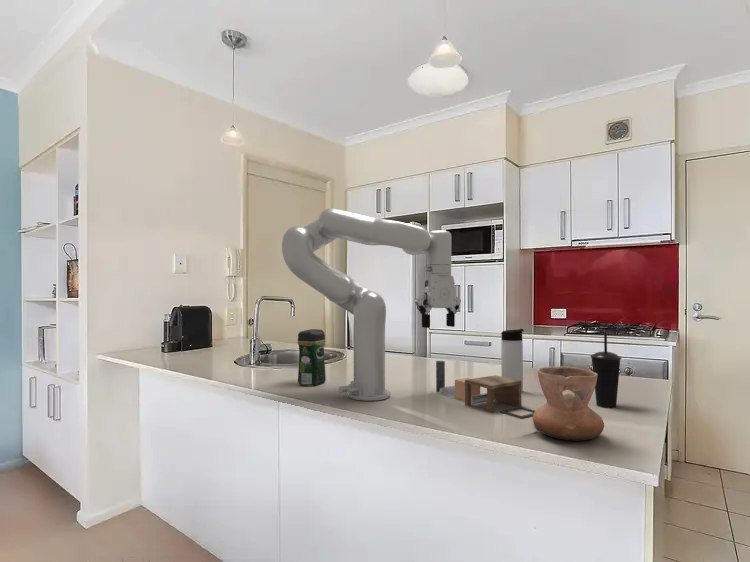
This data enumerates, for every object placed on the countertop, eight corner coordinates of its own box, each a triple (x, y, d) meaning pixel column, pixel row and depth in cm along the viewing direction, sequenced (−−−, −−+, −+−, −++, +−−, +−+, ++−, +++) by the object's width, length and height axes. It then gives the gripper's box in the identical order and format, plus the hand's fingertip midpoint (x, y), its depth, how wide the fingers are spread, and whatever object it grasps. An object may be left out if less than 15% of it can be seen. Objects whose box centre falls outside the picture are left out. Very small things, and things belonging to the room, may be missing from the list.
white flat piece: (471, 407, 121) (471, 370, 121) (429, 394, 136) (429, 361, 136) (489, 404, 125) (489, 368, 125) (446, 392, 140) (445, 359, 140)
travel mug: (525, 397, 134) (524, 330, 134) (502, 396, 135) (501, 329, 135) (522, 392, 140) (522, 328, 140) (500, 391, 141) (500, 327, 141)
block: (467, 401, 124) (467, 382, 124) (454, 397, 128) (454, 379, 128) (480, 398, 126) (480, 380, 126) (467, 395, 131) (467, 377, 131)
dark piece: (521, 424, 107) (521, 417, 107) (499, 418, 112) (499, 410, 112) (541, 419, 111) (541, 412, 111) (520, 413, 116) (520, 406, 116)
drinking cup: (619, 403, 126) (618, 332, 127) (624, 410, 119) (623, 334, 120) (589, 401, 129) (588, 331, 129) (592, 407, 122) (592, 333, 122)
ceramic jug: (608, 452, 89) (608, 380, 89) (531, 443, 94) (530, 375, 94) (599, 426, 105) (598, 365, 106) (534, 420, 111) (533, 362, 111)
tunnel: (490, 418, 112) (490, 386, 112) (465, 410, 120) (464, 379, 120) (521, 411, 118) (521, 380, 119) (495, 403, 126) (495, 375, 126)
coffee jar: (310, 380, 159) (310, 327, 160) (329, 382, 156) (329, 328, 156) (293, 385, 151) (293, 330, 151) (313, 387, 147) (313, 331, 148)
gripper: (424, 269, 130) (423, 329, 130) (468, 271, 139) (467, 326, 139) (408, 270, 137) (408, 327, 136) (452, 272, 146) (451, 325, 146)
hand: (438, 326), depth 138 cm, fingers open, 9 cm apart
